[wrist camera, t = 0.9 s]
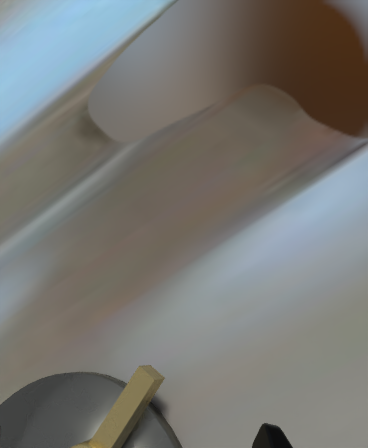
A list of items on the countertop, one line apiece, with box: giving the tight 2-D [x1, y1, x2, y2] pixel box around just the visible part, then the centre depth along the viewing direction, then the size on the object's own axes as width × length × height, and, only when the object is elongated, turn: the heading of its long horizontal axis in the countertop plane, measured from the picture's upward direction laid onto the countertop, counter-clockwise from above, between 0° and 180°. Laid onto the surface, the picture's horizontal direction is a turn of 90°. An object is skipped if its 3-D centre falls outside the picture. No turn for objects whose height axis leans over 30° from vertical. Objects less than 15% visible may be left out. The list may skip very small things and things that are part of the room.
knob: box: [70, 365, 165, 448], centre depth 20 cm, size 9×3×3 cm, turn 145°
